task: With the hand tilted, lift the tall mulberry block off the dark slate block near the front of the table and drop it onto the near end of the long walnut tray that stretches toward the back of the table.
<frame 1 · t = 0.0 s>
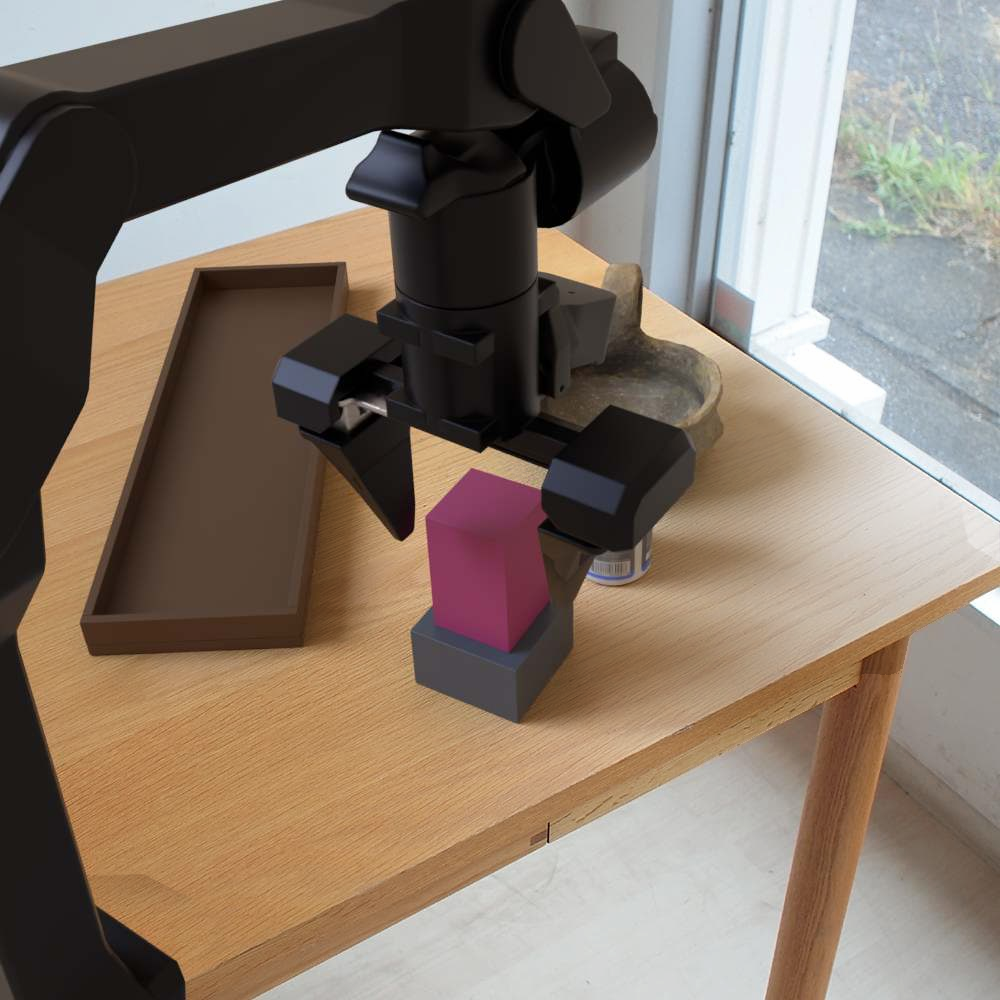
hand: (482, 569, 62), 12 cm above the table, tool pointing down, fingers open, 9 cm apart
tray: (242, 440, 92), on the table
pill bottle: (611, 564, 80), on the table
bowl: (618, 443, 90), on the table
slate block: (495, 665, 74), on the table, touching mulberry block
mulberry block: (492, 612, 71), point 4 cm above the table, touching slate block
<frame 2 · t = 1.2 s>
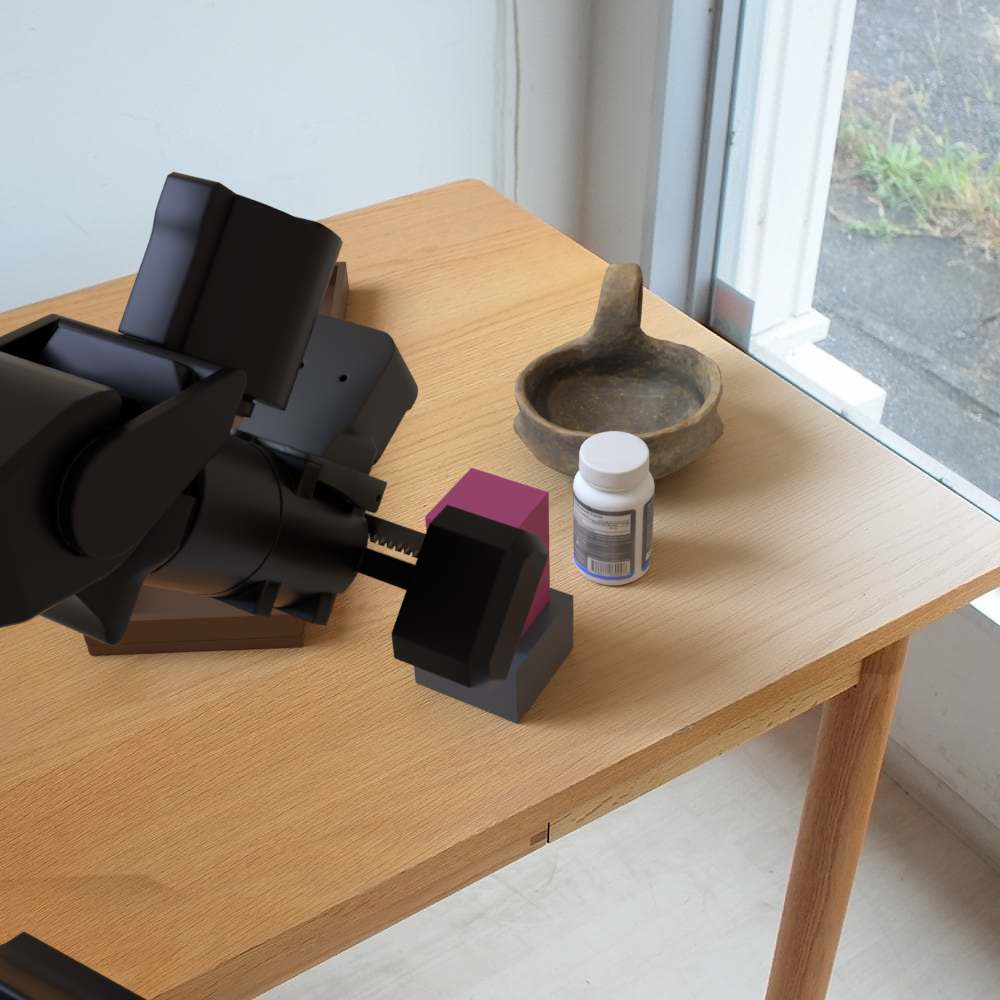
hand: (405, 565, 61), 13 cm above the table, tool tilted 45°, fingers open, 9 cm apart
nothing on the table moved.
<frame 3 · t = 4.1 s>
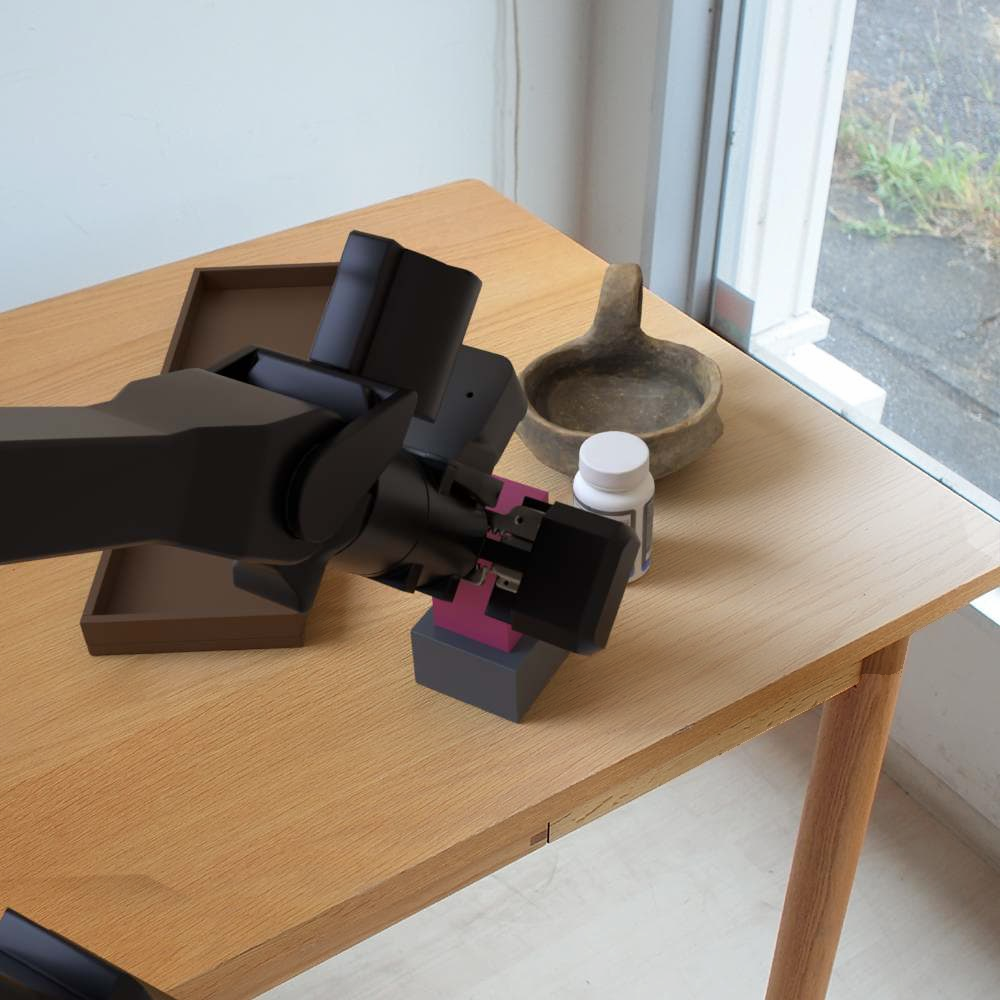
hand: (503, 554, 70), 7 cm above the table, tool tilted 45°, fingers closed on mulberry block, 4 cm apart
mulberry block: (492, 612, 71), point 4 cm above the table, touching gripper, slate block
everything else where it was.
when the fingers open (4 cm above the table, at t = 11.9 s): mulberry block stays where it is, resting on tray.
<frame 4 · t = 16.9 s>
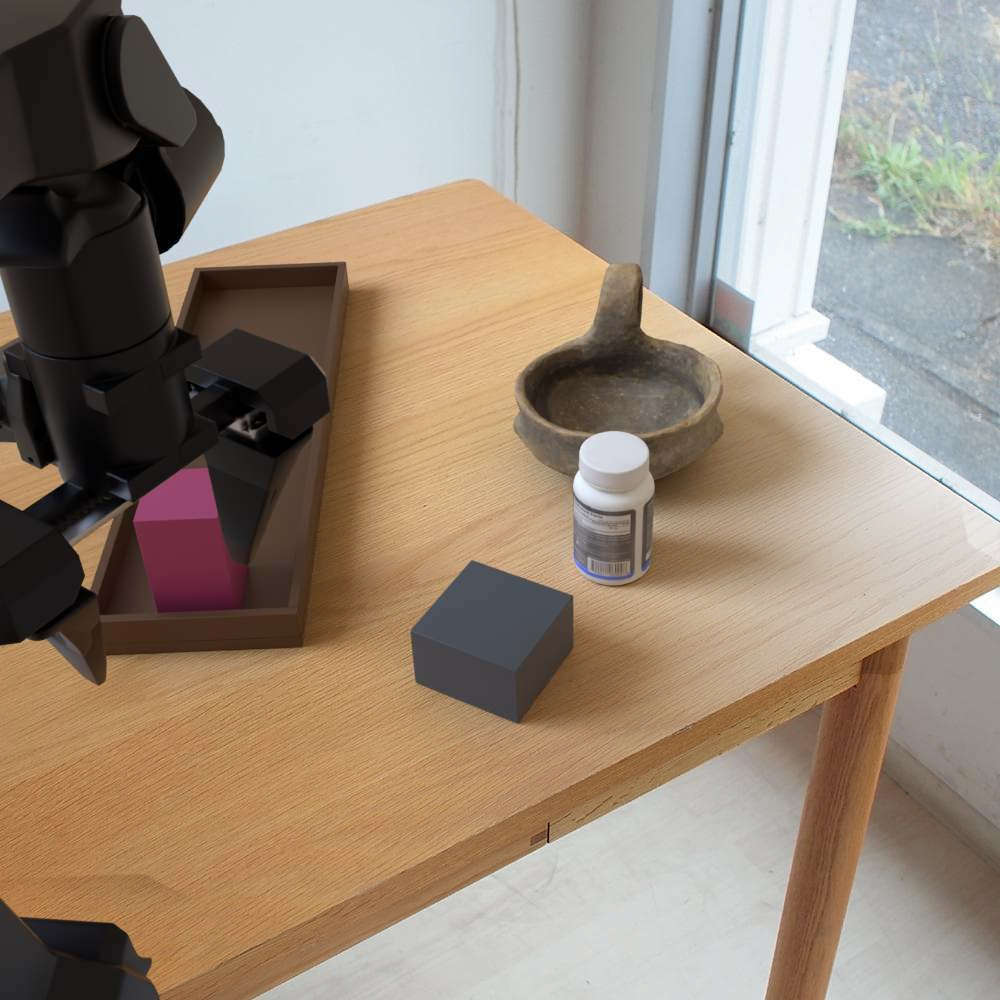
hand: (172, 617, 60), 12 cm above the table, tool pointing down, fingers open, 9 cm apart
slate block: (495, 664, 74), on the table
mulberry block: (205, 593, 78), point 1 cm above the table, touching tray
everything else where it was.
at the end: mulberry block inside the target area in the tray (0.5 cm from its centre), point 0.8 cm above the tray's base; slate block moved 0.0 cm from its start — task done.
